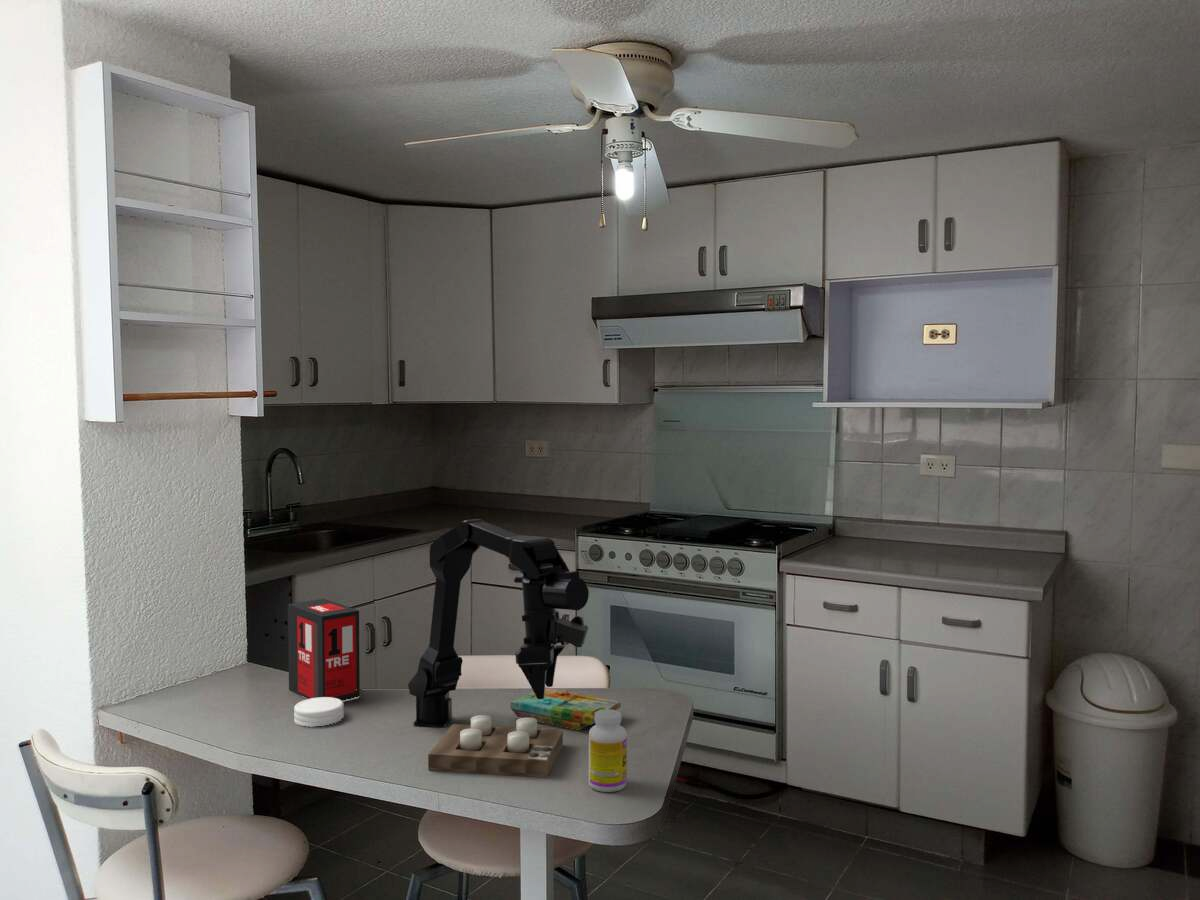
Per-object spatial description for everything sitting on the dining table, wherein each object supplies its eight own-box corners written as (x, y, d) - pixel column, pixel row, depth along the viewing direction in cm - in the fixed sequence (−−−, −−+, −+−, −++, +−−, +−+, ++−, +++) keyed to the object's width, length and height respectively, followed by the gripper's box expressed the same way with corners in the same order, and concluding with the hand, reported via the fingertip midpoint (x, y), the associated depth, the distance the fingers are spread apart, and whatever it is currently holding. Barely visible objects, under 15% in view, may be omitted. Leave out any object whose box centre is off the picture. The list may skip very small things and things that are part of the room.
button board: (428, 770, 172) (428, 752, 172) (453, 738, 188) (453, 722, 188) (547, 777, 169) (547, 759, 169) (562, 744, 185) (562, 728, 185)
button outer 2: (505, 752, 173) (505, 738, 173) (510, 744, 177) (510, 730, 177) (526, 753, 173) (526, 739, 173) (531, 745, 177) (531, 731, 177)
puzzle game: (540, 683, 210) (620, 698, 200) (540, 704, 210) (620, 720, 200) (510, 698, 200) (593, 714, 190) (510, 720, 200) (593, 737, 190)
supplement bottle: (628, 793, 163) (629, 719, 162) (589, 794, 162) (590, 720, 161) (624, 777, 169) (624, 706, 169) (587, 778, 169) (587, 707, 168)
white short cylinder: (297, 731, 192) (296, 714, 192) (291, 716, 201) (291, 699, 201) (347, 724, 196) (347, 707, 196) (339, 709, 205) (339, 693, 205)
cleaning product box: (288, 690, 218) (287, 604, 217) (324, 682, 224) (323, 598, 223) (322, 707, 206) (321, 616, 205) (359, 698, 212) (359, 610, 211)
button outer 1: (457, 749, 174) (457, 735, 174) (463, 742, 178) (463, 727, 178) (478, 751, 174) (478, 736, 174) (484, 743, 178) (484, 729, 178)
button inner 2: (514, 737, 181) (514, 724, 181) (518, 730, 185) (518, 717, 184) (534, 739, 180) (534, 725, 180) (538, 731, 184) (539, 718, 184)
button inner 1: (468, 735, 182) (468, 721, 182) (473, 728, 186) (473, 714, 186) (488, 736, 181) (488, 722, 181) (493, 729, 185) (493, 715, 185)
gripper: (575, 613, 163) (581, 704, 163) (589, 597, 182) (595, 679, 182) (512, 616, 165) (518, 706, 164) (532, 600, 183) (538, 681, 183)
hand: (545, 692), depth 173 cm, fingers open, 9 cm apart
